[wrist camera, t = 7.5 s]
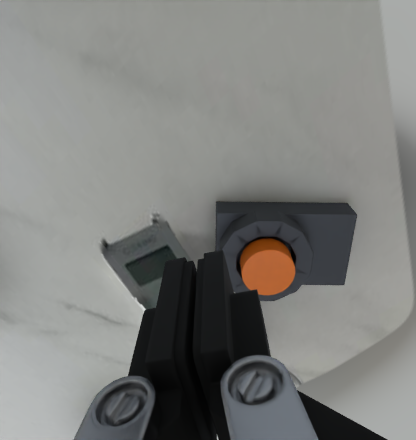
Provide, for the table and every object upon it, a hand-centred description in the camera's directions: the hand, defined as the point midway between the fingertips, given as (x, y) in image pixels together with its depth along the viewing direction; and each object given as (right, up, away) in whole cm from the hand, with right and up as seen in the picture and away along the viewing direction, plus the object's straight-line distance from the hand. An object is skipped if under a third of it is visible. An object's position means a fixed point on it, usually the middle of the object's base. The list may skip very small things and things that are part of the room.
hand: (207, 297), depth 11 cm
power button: (+4, -1, +16) cm, 17 cm away
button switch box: (+6, +1, +20) cm, 21 cm away
